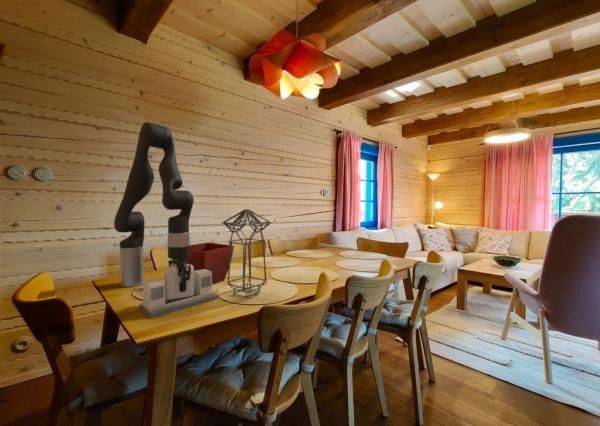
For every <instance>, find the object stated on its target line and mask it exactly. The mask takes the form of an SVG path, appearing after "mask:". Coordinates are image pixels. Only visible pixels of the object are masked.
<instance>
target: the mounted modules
mask: <svg viewBox="0 0 600 426" xmlns="http://www.w3.org/2000/svg"><path fill="white" fill-rule="evenodd" d="M142 292H143V293H142V297H143V299H142V301H143V302H142V303H143V306H144V307H145V308H147V309H149V308H153V307H156V306H160V305H164V304H165V280H163V279H161V278H159V277H157V278H156V277H155V278H151V279H144V281H143V284H142ZM210 292H213V284H212V272H211V271H208V270H205V269H202V270H197V271H194V295H196V296H198V295H202V294H206V293H210Z"/></svg>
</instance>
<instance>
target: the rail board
mask: <svg viewBox="0 0 600 426" xmlns="http://www.w3.org/2000/svg"><path fill="white" fill-rule="evenodd" d="M217 300H218V295H217V294H215V291H213V290H212V292H210V293H206V294H202V295H198V296H196V295H193V296H189V297H183V298H177V299H171V300H165V304H164V305H160V306H156V307H153V308H149V309H147V308H145V307H144V306H143V302H141V303H139V304H138V309H139V310H140V311H141V312H142V313H144V314H145V315H147V316H148V317H150V318H151V319H154V318H157V317H161V316H165V315H168V314H172V313H174V312H179V311H182V310H186V309H188V308H192V307H196V306H199V305H202V304H203V305H204V304H207V303H210V302H213V301H217Z"/></svg>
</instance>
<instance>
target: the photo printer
mask: <svg viewBox="0 0 600 426" xmlns="http://www.w3.org/2000/svg"><path fill="white" fill-rule="evenodd" d="M187 265H190V264H187ZM180 273H182V272H180ZM181 277H182V275H181ZM163 278H164V281H165V300H171V299H177V298H183V297H189V296H193V295H194V269H193V266H192V265H191V271H190V280H188V281H186V291H185V292H180V288H179V282H180V281H179V276H177V270H176V268H175V265H172V266H169V265H168V266H167V267H165V270H164V277H163Z"/></svg>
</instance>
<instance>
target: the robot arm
mask: <svg viewBox="0 0 600 426" xmlns="http://www.w3.org/2000/svg"><path fill="white" fill-rule="evenodd" d="M150 148H155V149H159V150H163V153H164V156H163V158H162V159H161V161H160V163H159V165H158V174H159V177H160V181H161V184H162V195H161V196H162V198H161V201H162V202H161V203H162V205H163V207H164V208H165V209H166V210H170V211H172V210H173V211H174V210H180V212H179V213H178V214H177V215H174V216H173V215H172V216H170V217H169V218H168V220H167V231H168V232H167V258H169V259H170V260H168V263H167V264H168V267H169V266H172V265H175V268H176V270H177V276H179V281H180V282H179V288H180V292H185V291H186V281H188V280H190V271H191V265H187V262H186V258H187V257H189V256H190V245H191V243H190V242H191V239H190V238H191V237H190V225H189V224H190V218H191V213H192V209H193V205H194V201H195V200H194V195H193V194H192V192H191V191H189V190H181V189H180V188H182V187H183V185H184V184H183V179H182V176H181V173H180V171H179V166H178V163H177V157H176V156H177V155H176V149H175V141H174V137H173V133H172V131H171V129H170V128H169V127H167V126H163V125H162V124H161V125H160V124H156V123H153V122H149V121H147V122H144V123H143V124H142V125H141V128H140V130H139V135H138V139H137V145H136V148H135V149H136V150H135V154H134V158H133V162H132V166H131V168H130V171H129V175H128V179H127V180H126V181H127V182H126V186H125V189H124V193H123V196H122V199H121V202H120V204H119V206H118V209H117V211H116V214H115V217H114V220H113V224H114V225H113V226H114V229H115V231H116V232H118V233H131V234H130V235H128V236H127V237H126V238H124V239H122V240H120V241H119V243H118V244H119V272H120V273H119V275H120V276H119V277H120V278H119V279H120V286H121V287H124V288H125V287H129V288H130V287H137V286H140V285H143V281H145V272H144V271H145V267H144V240H145V217H144V215H143V213H142V212H141V211H137V210H136V211H135V210H134V208H135V207H136V206H137V204H139V203H140V202H141V201H142V200H143V199H144V198H145V197H146V196H147V195H149V193H150V192H151V190H152V188H153V183H154V180H155V172H154V170H153V167H152V165H151V163H150V160H149V149H150ZM178 189H180V190H178ZM133 210H134V211H133ZM180 272H182V273H180ZM181 275H182V277H181Z"/></svg>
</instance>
